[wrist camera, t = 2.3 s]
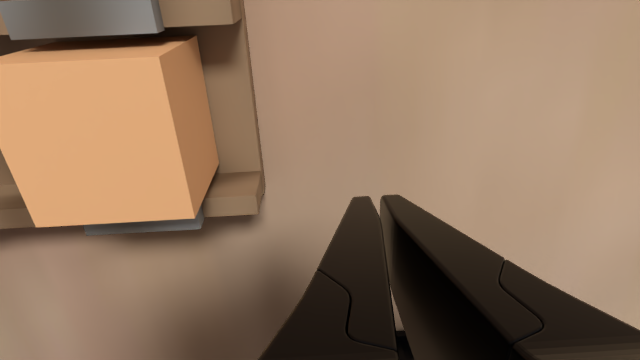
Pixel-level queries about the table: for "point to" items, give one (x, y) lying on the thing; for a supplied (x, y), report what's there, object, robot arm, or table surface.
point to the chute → (219, 74)
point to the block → (108, 130)
